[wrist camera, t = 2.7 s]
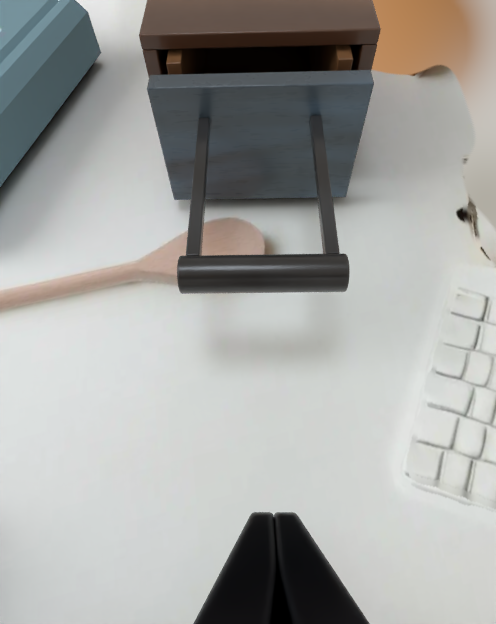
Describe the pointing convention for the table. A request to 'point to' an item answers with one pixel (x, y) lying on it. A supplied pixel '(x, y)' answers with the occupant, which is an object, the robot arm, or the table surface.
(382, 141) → the table surface
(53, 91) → the book
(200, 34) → the cabinet
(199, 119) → the drawer
